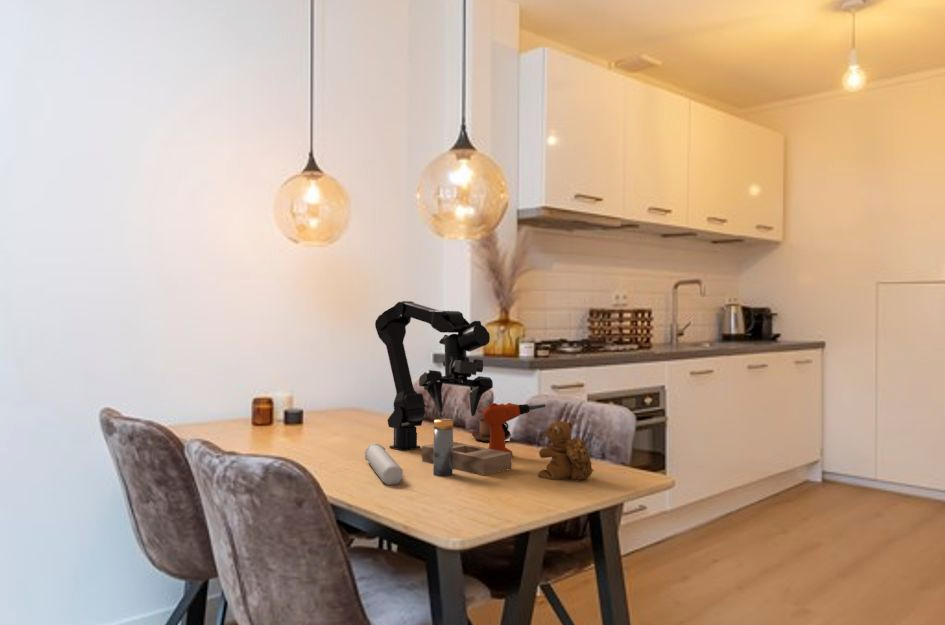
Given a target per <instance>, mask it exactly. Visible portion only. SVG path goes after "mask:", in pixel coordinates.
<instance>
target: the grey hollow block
mask: <svg viewBox="0 0 945 625" xmlns="http://www.w3.org/2000/svg"><path fill="white" fill-rule="evenodd" d="M421 447H422V448H421V462H424V463H428V464H432V465H434V443H431V444H425V445H422V446H421ZM488 448H489V447H484V446H483V447H482V446H478V445H477V446H476V445H473V444H468V443H461V442H457V441H453V469H454V470H459V471H462V472H466V471H467V473H471V474H474V475H475V474H476V475H478V476H479V475H480V476H484V475H485V476H488V474H489V475H493V474H497V473H500V472H499V471H501V472H504V471H503V470H505V471H508V470H507V469H510V470H512V458H513V454H512V453H513V452H512V453H509V452H504V451H499V450H493V449H488ZM496 472H497V473H496ZM492 473H493V474H492Z"/></svg>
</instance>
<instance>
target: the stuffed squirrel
mask: <svg viewBox="0 0 945 625" xmlns="http://www.w3.org/2000/svg"><path fill="white" fill-rule="evenodd" d="M573 425H574V423H573V422H572V421H568V422H566V421H563V420H561V421H560V420H557V421H555V422H551V424H549V425H548V426H547V428H546V430H545V431H544V434H543V436H542V438H543V440H546V437H547V439H548V440H549V441H551V442H550V443H548V444H547V447H543V448H541V449H540V450H539V452H538V453H539V457H540V458H542V459H546V458H551V459H550V461H549V463H548V464H547V465H546V466H545V468H546V469H541V470H539V471H538V474H537V475H538V477H539V476H541V477H540V478H542V477H545V478H544V479H547V478H550V479H549V480H554V479H562V480H568V479H569V478H570V480H571V481H576V480H578V482H579V481H583V480H587V479H588V478H590V477H591V475H592V474H593V472H594V469H593V468H592V464H593V463H592V461H591V457H590V453H589V450H588V449H587V447H586V445H585V443H584V440H583V439H582V438H578V437H577V438H575V437H574V438H572V436H571V429H572V427H573Z"/></svg>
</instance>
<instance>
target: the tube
mask: <svg viewBox="0 0 945 625" xmlns="http://www.w3.org/2000/svg"><path fill="white" fill-rule="evenodd" d="M364 452H365V453H364V460H366V461H367V462H368V464H369V465H370V466H371V467H372V469H373V470H374V472H375V473H376V474H377V476H378V477H379V479H380V480H381V482H383V483H384V484H386V485H387V486H394V485H399V484H400V482H401V481H402V479H403V470H404V469H403V468H402V467H401V466H400V465H399V464H398V463H397V462H396V461H395V459H394V458H393V457H392V456H391V455H390V454H389V453H388V452H387V451H386V448H385V447H384V446H382V445H381V444H379V443H370V444H369V445H368V446H367V448H366V449H365V450H364Z"/></svg>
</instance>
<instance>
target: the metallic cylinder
mask: <svg viewBox="0 0 945 625" xmlns="http://www.w3.org/2000/svg"><path fill="white" fill-rule="evenodd" d="M453 442H454V419H451V418H436V419H433V444H434V464H432V465H433V468H432V471H433V476H435V477H436V476H437V477H450V476H452V475H453V471H454V470H453Z"/></svg>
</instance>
